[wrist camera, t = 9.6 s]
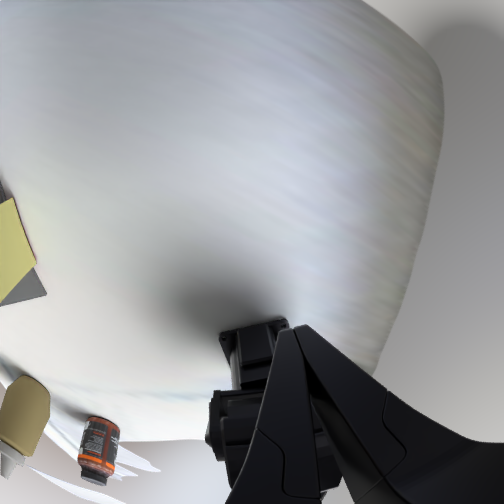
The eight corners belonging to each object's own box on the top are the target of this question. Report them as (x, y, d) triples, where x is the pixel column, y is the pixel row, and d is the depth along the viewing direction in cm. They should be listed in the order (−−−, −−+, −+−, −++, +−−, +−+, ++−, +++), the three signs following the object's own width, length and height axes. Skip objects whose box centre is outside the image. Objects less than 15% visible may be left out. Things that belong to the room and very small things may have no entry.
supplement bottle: (80, 414, 30) (66, 471, 20) (106, 415, 30) (94, 478, 20) (101, 431, 33) (91, 484, 23) (127, 433, 33) (120, 490, 23)
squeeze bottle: (13, 361, 25) (-28, 454, 9) (56, 387, 27) (25, 489, 11) (18, 384, 27) (-13, 466, 11) (56, 407, 30) (33, 494, 14)
